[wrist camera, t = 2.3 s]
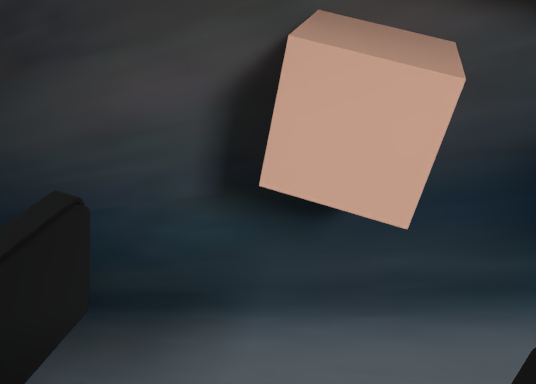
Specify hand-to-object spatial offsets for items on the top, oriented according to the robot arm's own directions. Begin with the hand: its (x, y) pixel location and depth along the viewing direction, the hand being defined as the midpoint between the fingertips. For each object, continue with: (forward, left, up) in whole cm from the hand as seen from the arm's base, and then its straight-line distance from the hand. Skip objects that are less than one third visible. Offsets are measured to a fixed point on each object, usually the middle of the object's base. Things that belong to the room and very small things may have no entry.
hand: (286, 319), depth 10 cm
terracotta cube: (0, 0, -15) cm, 15 cm away
